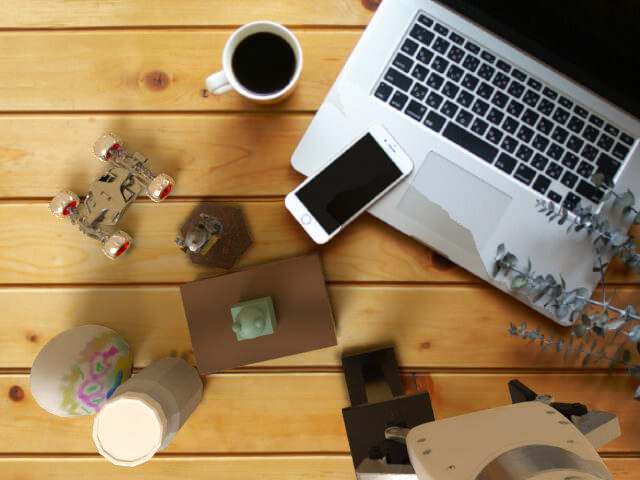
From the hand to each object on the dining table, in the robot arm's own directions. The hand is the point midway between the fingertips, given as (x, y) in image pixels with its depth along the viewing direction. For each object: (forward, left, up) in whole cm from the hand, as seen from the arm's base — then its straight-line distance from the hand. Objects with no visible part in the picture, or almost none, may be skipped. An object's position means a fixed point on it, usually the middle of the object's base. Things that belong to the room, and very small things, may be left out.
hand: (456, 410), depth 42 cm
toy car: (+29, +37, -36) cm, 59 cm away
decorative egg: (+5, +44, -36) cm, 58 cm away
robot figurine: (+20, +23, -36) cm, 48 cm away
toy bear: (+8, +18, -25) cm, 32 cm away
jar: (-1, +35, -36) cm, 50 cm away
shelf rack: (+8, +18, -36) cm, 41 cm away
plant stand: (-6, +5, -36) cm, 37 cm away
